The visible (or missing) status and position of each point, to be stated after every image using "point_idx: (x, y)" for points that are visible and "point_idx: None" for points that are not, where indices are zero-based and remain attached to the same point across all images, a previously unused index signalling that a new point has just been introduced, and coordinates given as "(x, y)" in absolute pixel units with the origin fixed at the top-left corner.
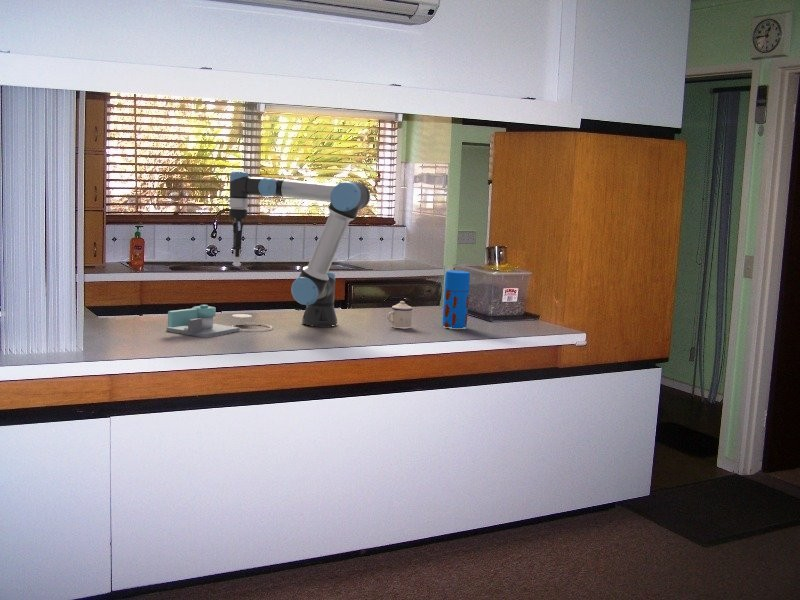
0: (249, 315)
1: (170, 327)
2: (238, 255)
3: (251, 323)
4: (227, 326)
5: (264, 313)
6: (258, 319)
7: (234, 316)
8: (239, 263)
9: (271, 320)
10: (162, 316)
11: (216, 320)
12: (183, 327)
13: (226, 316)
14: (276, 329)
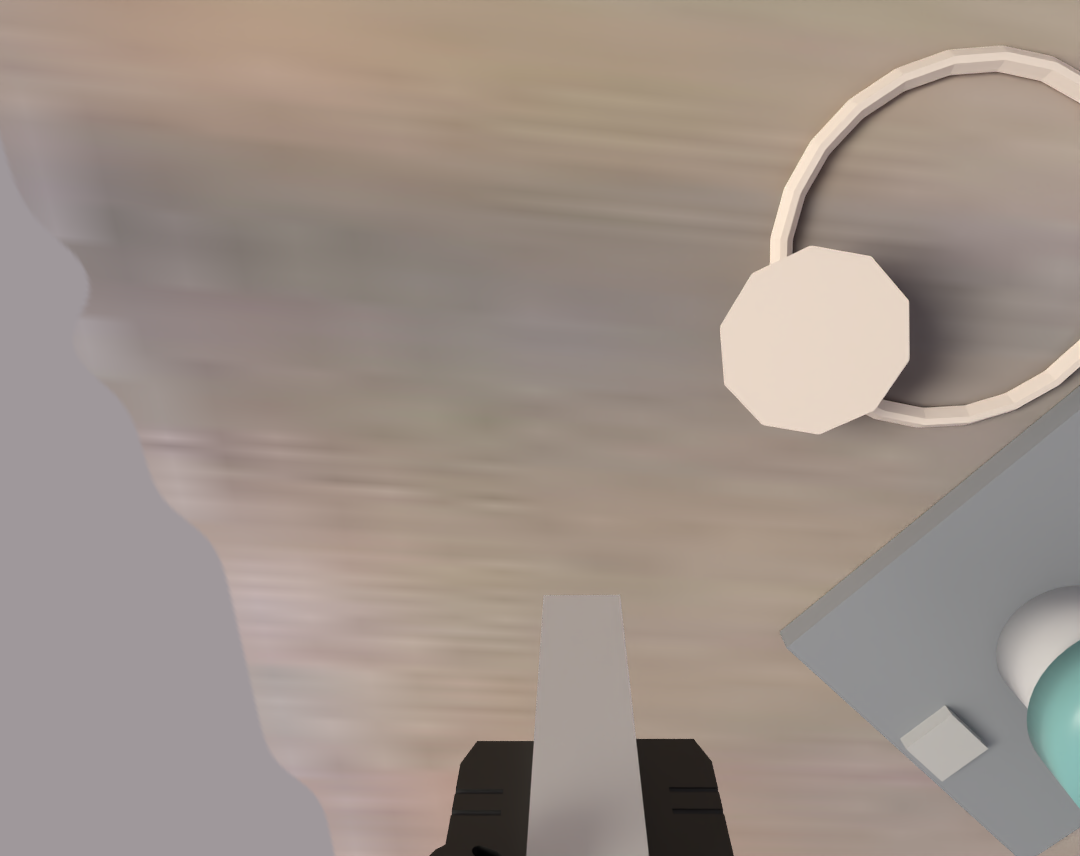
0: (809, 269)
1: (1031, 842)
2: (710, 781)
3: (790, 239)
4: (1044, 472)
5: (70, 31)
6: (460, 136)
7: (857, 417)
8: (622, 620)
9: (509, 2)
10: (400, 847)
11: (547, 510)
12: (1044, 770)
13: (327, 418)
14: (1044, 11)
